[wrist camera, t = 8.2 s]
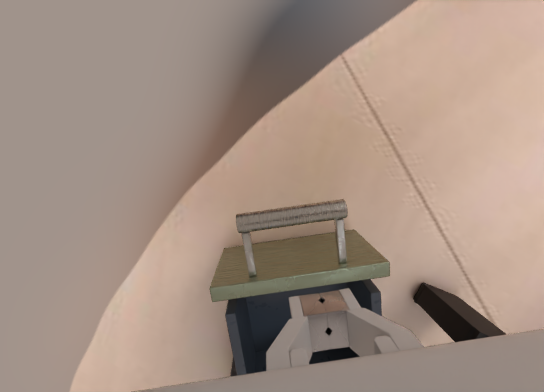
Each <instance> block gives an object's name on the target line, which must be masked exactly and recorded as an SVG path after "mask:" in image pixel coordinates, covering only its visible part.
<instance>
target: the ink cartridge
mask: <svg viewBox="0 0 544 392" xmlns="http://www.w3.org/2000/svg"><path fill="white" fill-rule="evenodd" d="M414 302H415V303H417V304H419V305H420V306H421V307H422V308H423V309H424V310H425V311H426V313H427V314H428V315H429V316H430V317H431V318H432V319H433V320H434V321H435V322H436V323H437V324H438V325H439V326H440V327H441V328H442V329H443V330H444V331H445V332H446V333H447V334H448V335H449V336H450V337H451V338H452V339H453V340H454V341H455V342H460V341H467V340H473V339H480V338H487V337H493V336H500V335H506V334H505V333H504V332H503V331H501V330H500V329H499V328H498V327H496V326H495V325H494V324H493V323H491V322H490V321H489V320H487V319H486V318H485V317H484V316H482V315H481V314H480V313H478V312H477V311H476V310H475V309H473V308H472V307H471V306H469V305H468V304H467V303H466V302H464V301H463V300H462V299H460V298H459V297H457V296H455V295H453V294H451V293H448V292H446V291H443V290H441V289H438V288H436V287H433V286H431V285H428V284H426V283H423V284H422V286H421V287H420V289H419V291H418V292H417V294H416V296H415V297H414Z"/></svg>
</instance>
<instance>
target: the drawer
mask: <svg viewBox="0 0 544 392" xmlns="http://www.w3.org/2000/svg"><path fill="white" fill-rule="evenodd" d="M347 214H348V211H347V205H346V202H345V200H343V199H341V200H333V201H326V202H319V203H312V204H305V205H298V206H291V207H284V208H277V209H270V210H263V211H256V212H249V213H242V214H237V215H236V224H237V230H238V232H239V233H242V238H243V244H244V245H242V246H236V247H229V248H224V250H223V252H222V255H221V258H220V261H219V263H218V266H217V269H216V272H215V275H214V277H213V280H212V283H211V286H210V293H211V298H212V302H216V301H223V300H228V304H227V309H226V314H225V317H226V322H227V327H228V332H229V337H230V342H231V347H232V352H233V357H234V362H235V367H236V372H237V376H238V375H244V374H251V373H257V372H264V371H266V352H267V350H268V349H269V347H270V346H271V345H272V343H273V342H274V340H275V339H276V337H277V336H278V335H279V333H280V332H281V330H282V329H283V327H284V326H285V324H286V323H287V322H288V320H289V319H291V312H290V305H289V297H293V296H301V295H308V294H316V293H324V292H330V291H336V290H341V289H346V288H349V289H350V290H351V292H352V294H353V295H354V297H355V299H356V300H357V302H358V303H359V305H360V307H361V308H366V309H368V310H370V311H372V312H374V313H376V314H378V315H380V316H382V311H381V292H380V291H379V290H378V288H377V287H376V286H375V285H374V283H373V282H372V281H371V280H370V279H374V278H381V277H388V276H390V263H389V261H388V260H387V259H386V258H385V257H383V256H382V255H381V254H380V253H379V252H378V251H377V250H376V249H375V248H374V247H373V246H372V245H371V244H369V243H368V242H367V241H366V240H365V239H364V238H363V237H362V236H361V235H360V234H359V233H358V232H357V231H355V230H347V231H345V229H344V219H343V218H346V217H347ZM328 220H334V225H335V232H333V233H326V234H319V235H312V236H305V237H298V238H291V239H284V240H277V241H270V242H263V243H256V244H252V239H251V233H250V232H251V231H258V230H265V229H272V228H279V227H286V226H293V225H300V224H307V223H314V222H321V221H328ZM356 357H360V356H359V355H358V354H357V353H355V352H354V351H353V350H352V349H351V348H350V347H344V348H336V349H329V350H323V351H318V352H312V356H311V359H310V361H309V365H310V364H316V363H323V362H329V361H336V360H343V359H349V358H356Z"/></svg>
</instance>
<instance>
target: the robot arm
mask: <svg viewBox="0 0 544 392" xmlns="http://www.w3.org/2000/svg"><path fill="white" fill-rule="evenodd" d="M289 305H290V312H291V319H289V320H288V322H287V323H286V324H285V326H284V327H283V329H282V330H281V332H280V333H279V335H278V336H277V337H276V339H275V340H274V342H273V343H272V345H271V346H270V347H269V349H268V350H267V352H266V371H264V372H257V373H251V374H244V375H238V376H231V377H225V378H218V379H211V380H205V381H198V382H192V383H185V384H179V385H172V386H166V387H159V388H152V389H146V390H139V391H133V392H544V329H539V330H533V331H526V332H520V333H513V334H506V335H500V336H493V337H487V338H480V339H473V340H467V341H460V342H454V343H447V344H441V345H434V346H428V347H424V346H423V345H422V344H421V342H420V341H419V340H418V339H417V337H416V336H415V335H414V334H413V332H412V331H411V330H409V329H407V328H405V327H403V326H401V325H399V324H397V323H394V322H392V321H390V320H388V319H386V318H384V317H382V316H380V315H378V314H376V313H374V312H372V311H370V310H368V309H366V308H361V307H360V305H359V303H358V302H357V300H356V299H355V297H354V295H353V294H352V292H351V290H350V289H349V288H346V289H341V290H336V291H330V292H324V293H316V294H308V295H301V296H293V297H289ZM344 347H350V348H351V349H352V350H353V351H354V352H355V353H357V354H358V355H359V356H360V357H356V358H349V359H343V360H336V361H329V362H323V363H316V364H310V365H309V361H310V359H311V356H312V352H318V351H323V350H329V349H336V348H344Z"/></svg>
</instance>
